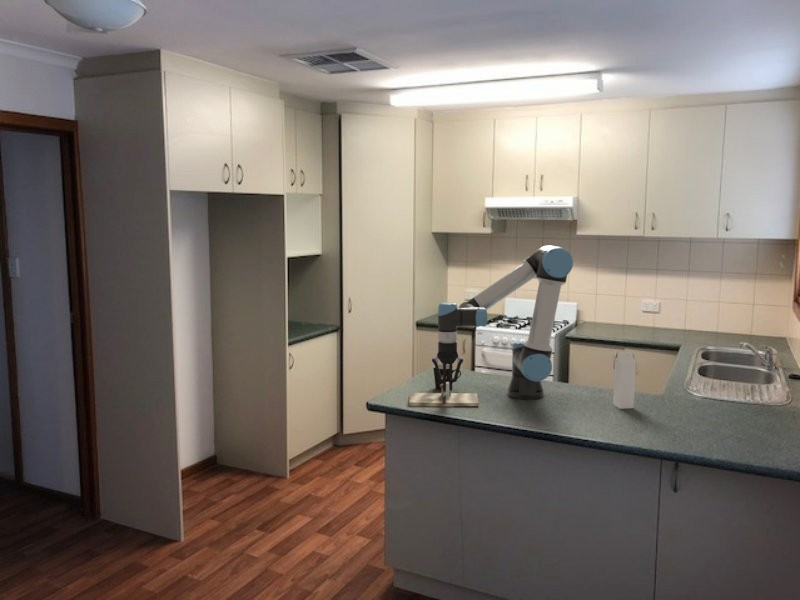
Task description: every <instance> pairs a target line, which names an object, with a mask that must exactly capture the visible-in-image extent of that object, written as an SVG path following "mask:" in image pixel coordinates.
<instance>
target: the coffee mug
mask: <svg viewBox="0 0 800 600" xmlns="http://www.w3.org/2000/svg"><path fill="white" fill-rule="evenodd" d="M438 367H439V370H440V374H441V378H442V379H443V364H442V363H440V364H439V363H438ZM432 368H433V377H434V384H435V390H437V391H441V388H440V384H443V383H442V382H439V380H438V376H437V372H436V368H435V365H433V366H432ZM455 372H456V369H453V365H452V375H453V374H454V373H455ZM461 376H462V372H461V370H459V374H458V378H457V380H458V379H459V378H460V377H461ZM446 382H449V364H446Z"/></svg>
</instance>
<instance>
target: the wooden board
mask: <svg viewBox="0 0 800 600" xmlns="http://www.w3.org/2000/svg"><path fill="white" fill-rule="evenodd" d="M478 398H479V397H478V393H476V392H475V393H471V392H470V393H467V392H466V393H465V392H464V393H461V392H460V393H459V392H456V393H455V392H451V396H449V399H446V403H445V405H444V404H443V396H442V395H441V392H411V393H410V396H409V401H408V406H409V407H454V406H478V407H479V399H478Z"/></svg>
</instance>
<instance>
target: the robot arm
mask: <svg viewBox="0 0 800 600" xmlns="http://www.w3.org/2000/svg"><path fill="white" fill-rule="evenodd" d="M573 267H574V260H573V257H572V255H571V253H570V251H568V250H567V249H565V248H564V247H561V246H559V245H558V246H555V245H550V244H549V245H548V244H546V245H544V246H541V247H540V248H538V249H537V250H535V251H534V252H533V253H531V254H530V255H529V256H528V257H526V258H525V259H523V261H522V264H520V265H518V266H517V267H516V268H514V269H512V271H509V273H507V274H506V275H504V276H502V277H501V278H500V279H498V280H497V281H495V282H494V283H493V284H491V285H489V286H488V287H487V288H485V289H484V290H481V292H480V293H478V294H476V295H475V296H473V297H472V298H471V299H469V300H468V301H464V302H461V303H460V304H459V306H458V304H457V302H456V303H455V302H441V303H439V304H438V306H437V307H438V309H437V325H438V326H437V327H438V328H437V333H438V334H437V336H438V337H437V338H438V339H437V340H438V342H437V345H438V346H437V350H438V351H437V353H436V356H434V357H432V358H431V362H432V364H434V365H435V368H436V372H437V376H438V380H439V382H442V383H443V391H446V399H449V391H451V392H452V391H453V383H457V382H458V379H459V378H458V376H459V375H460V372H459V370H460V369H461V365H462V363H464V358H463V357H461V356H459V353H458V327H477V328H478V327H485V326H487V324H488V309H490V308H492V307H493V306H495V305H497V304H498V303H499V302H501V301H502V300H504V299H505V298H507V297H508V296H509V295H511V294H512V293H514V292H516V291H518V289H520V288H521V287H523V286H524V285H526V284H527V283H529V282H530V281H532V280H537V281H538V287H537V293H536V298H535V302H534V303H535V304H534V309H533V313H532V319H531V323H530V328H529V334H528V338H527V340H526V341H515V342H514V343H513V344H512V348H511V350H512V352H511V353H512V355H511V356H512V357H511V358H512V360H511V361H512V362H511V363H512V364H511V370H512V373H511V374H512V375H511V379H510V381H509V382H510V383H509V385H508V388H507V395H508V396H509V397H511V398H513V399H518V400H538V399H541V398H543V397H544V395H545V393H544V392H545V391H544V386H543V383H542V381H544V380H546V379H547V378H549V376H550V375H551V373H552V371H553V364H552V363H553V362H552V360H551V358H552V353H553V348H552V347H551V345H550V344H551V339H552V338H551V337H552V334H553V328H554V323H555V318H556V313H557V309H558V303H559V298H560V295H561V294H560V293H561V288H562V286H564V285H566V283H567V278H568V275H569V274H570V273H571V271H572V269H573ZM456 361H457V365H456V371H454V376H453V374H452V370H453V368H452V366H453V364H454V363H455V362H456ZM438 362H440V364H443V379H442V378H441V374H440V370H439V367H438V365H439V363H438ZM434 365H433V366H434ZM446 365H449V382H446ZM460 371H461V370H460ZM457 378H458V379H457Z"/></svg>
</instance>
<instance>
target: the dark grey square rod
mask: <svg viewBox="0 0 800 600" xmlns="http://www.w3.org/2000/svg"><path fill="white" fill-rule="evenodd" d="M440 388H441V390H440V391H441V392H440V393H441V395H442V396H443V404H444V405H445V403H446V391H443V384H440ZM451 393H452V391H449V396H451Z"/></svg>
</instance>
